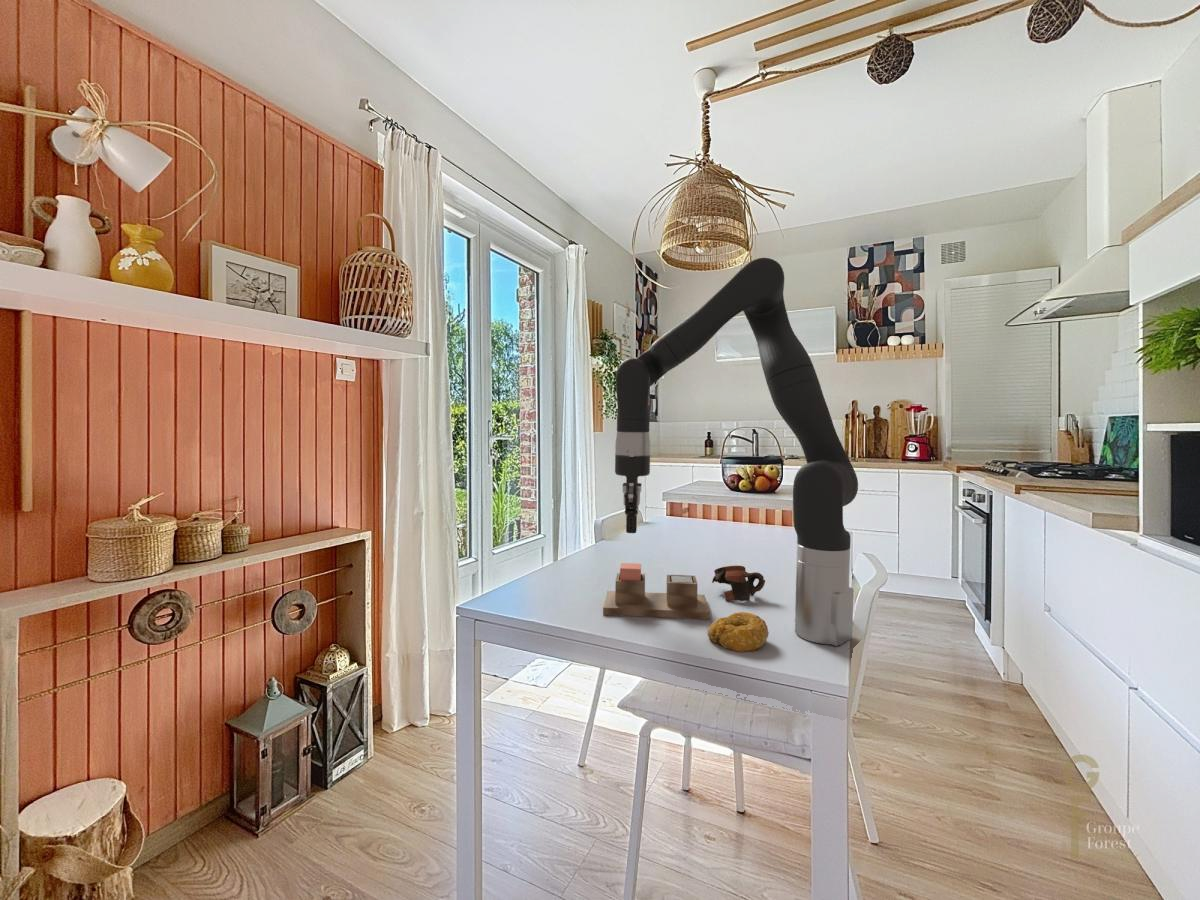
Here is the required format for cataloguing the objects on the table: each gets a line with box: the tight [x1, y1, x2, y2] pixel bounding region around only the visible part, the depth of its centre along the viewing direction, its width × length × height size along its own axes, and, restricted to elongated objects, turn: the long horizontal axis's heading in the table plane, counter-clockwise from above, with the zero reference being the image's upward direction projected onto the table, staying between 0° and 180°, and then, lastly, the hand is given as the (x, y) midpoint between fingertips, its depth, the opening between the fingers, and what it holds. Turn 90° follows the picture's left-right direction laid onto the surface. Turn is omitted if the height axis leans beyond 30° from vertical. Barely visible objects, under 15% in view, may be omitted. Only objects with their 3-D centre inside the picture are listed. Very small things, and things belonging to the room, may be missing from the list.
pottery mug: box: [711, 565, 766, 602], centre depth 122 cm, size 12×10×8 cm
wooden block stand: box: [602, 572, 711, 620], centre depth 113 cm, size 22×11×6 cm, turn 84°
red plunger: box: [619, 562, 642, 581], centre depth 114 cm, size 4×4×5 cm
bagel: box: [707, 611, 769, 652], centre depth 96 cm, size 10×11×5 cm
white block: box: [671, 576, 693, 583], centre depth 113 cm, size 4×4×5 cm
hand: (631, 532), depth 114 cm, fingers closed
